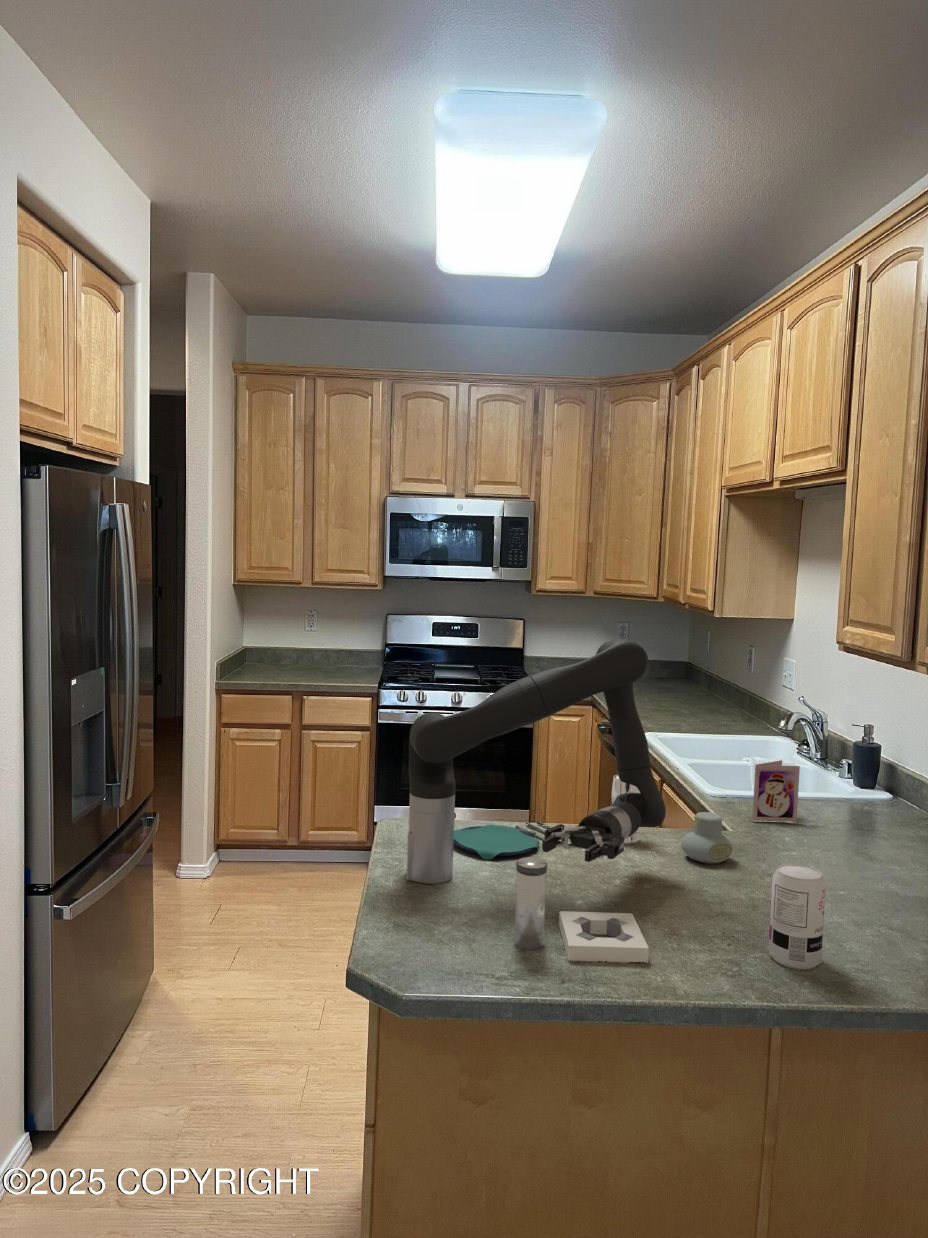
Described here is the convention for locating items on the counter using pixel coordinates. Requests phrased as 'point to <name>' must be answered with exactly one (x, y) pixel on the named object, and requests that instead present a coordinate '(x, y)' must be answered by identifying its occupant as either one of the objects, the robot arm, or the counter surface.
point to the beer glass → (623, 788)
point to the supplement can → (797, 916)
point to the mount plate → (590, 948)
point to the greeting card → (776, 792)
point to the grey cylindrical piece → (530, 903)
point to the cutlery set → (498, 840)
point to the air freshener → (707, 840)
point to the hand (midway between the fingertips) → (565, 851)
